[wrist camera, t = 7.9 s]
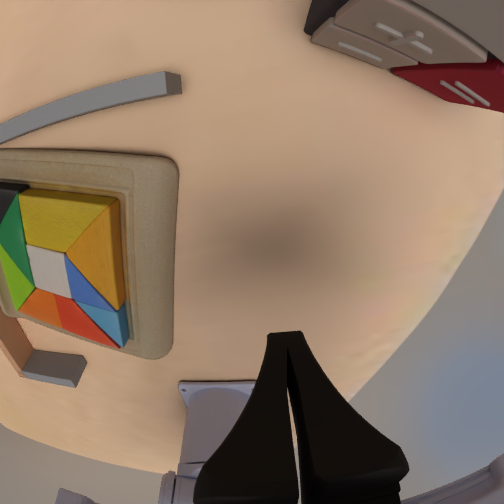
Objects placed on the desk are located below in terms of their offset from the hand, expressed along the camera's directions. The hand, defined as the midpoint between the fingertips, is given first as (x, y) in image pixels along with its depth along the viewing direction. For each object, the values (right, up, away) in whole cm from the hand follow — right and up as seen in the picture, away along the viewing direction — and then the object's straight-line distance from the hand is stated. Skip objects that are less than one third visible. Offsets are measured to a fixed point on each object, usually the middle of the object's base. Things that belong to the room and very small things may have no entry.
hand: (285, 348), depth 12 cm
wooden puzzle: (-16, +4, +10) cm, 20 cm away
